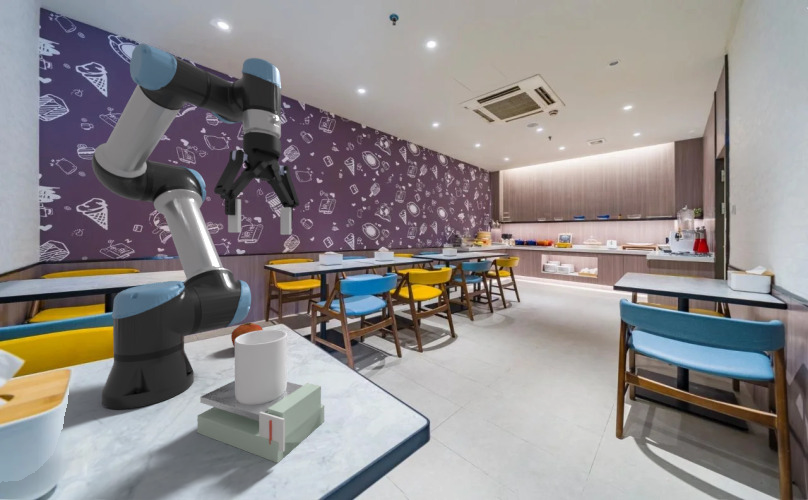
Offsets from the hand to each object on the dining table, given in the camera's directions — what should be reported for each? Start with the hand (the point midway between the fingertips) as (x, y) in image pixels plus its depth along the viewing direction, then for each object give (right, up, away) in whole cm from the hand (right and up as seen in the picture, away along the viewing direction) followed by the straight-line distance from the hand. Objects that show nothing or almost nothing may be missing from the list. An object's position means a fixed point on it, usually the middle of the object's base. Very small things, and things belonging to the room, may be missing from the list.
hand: (262, 233), depth 64 cm
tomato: (-17, -34, +26) cm, 46 cm away
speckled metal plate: (+4, -32, -12) cm, 34 cm away
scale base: (+6, -35, -13) cm, 38 cm away
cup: (+5, -29, -12) cm, 32 cm away
